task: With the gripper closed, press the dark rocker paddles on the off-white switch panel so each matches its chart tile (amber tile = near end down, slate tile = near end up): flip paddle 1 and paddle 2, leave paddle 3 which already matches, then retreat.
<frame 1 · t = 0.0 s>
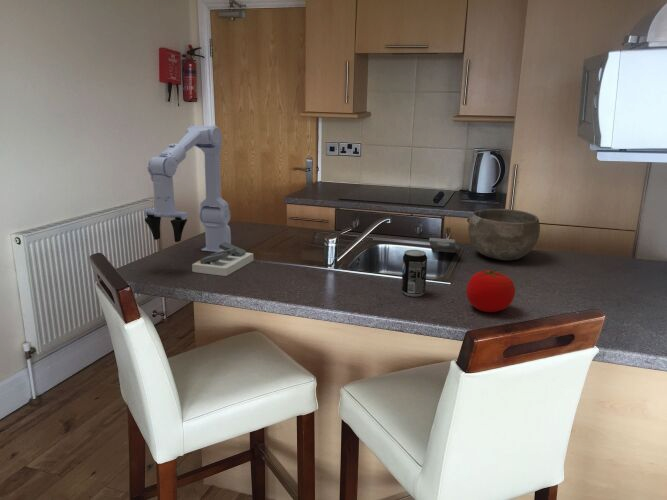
hand: (167, 240, 170), 10 cm above the worktop, fingers open, 7 cm apart
switch panel: (224, 266, 179), on the worktop
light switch: (442, 256, 192), on the worktop
rocker 1: (232, 249, 182), point 4 cm above the worktop, hinge at -17.0°
beverage can: (413, 294, 155), on the worktop
bowl: (499, 257, 192), on the worktop
rocker 3: (213, 257, 172), point 4 cm above the worktop, hinge at 17.0°
tomato: (488, 310, 144), on the worktop
rocker 2: (222, 253, 177), point 4 cm above the worktop, hinge at 17.0°
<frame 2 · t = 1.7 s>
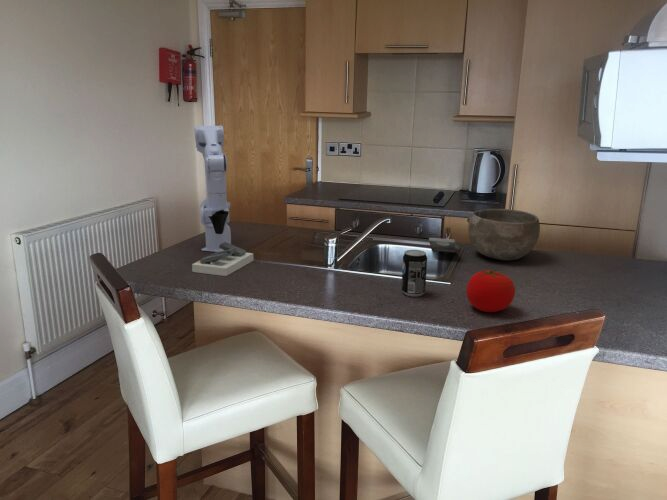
hand: (219, 233, 180), 10 cm above the worktop, fingers closed
nothing on the worktop moved.
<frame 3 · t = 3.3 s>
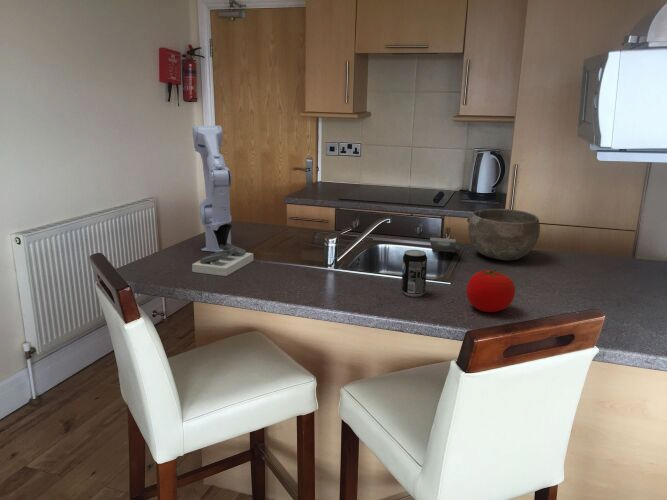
hand: (222, 246, 183), 5 cm above the worktop, fingers closed, pressing on rocker 1
rocker 1: (232, 249, 182), point 4 cm above the worktop, hinge at -15.2°, touching gripper
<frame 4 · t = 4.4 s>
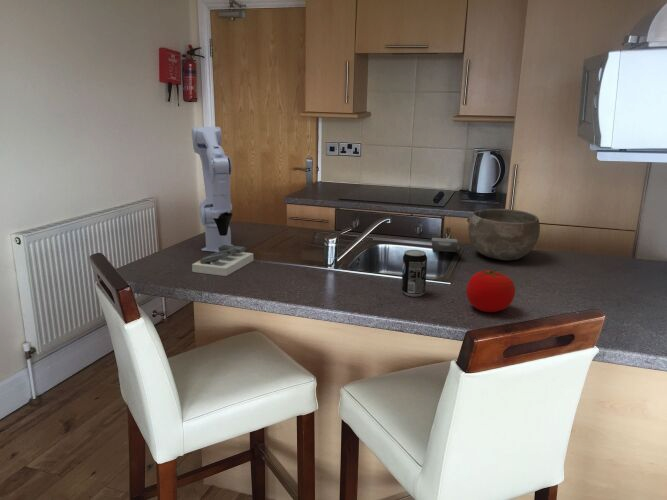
hand: (223, 235, 182), 9 cm above the worktop, fingers closed
rocker 1: (231, 249, 182), point 4 cm above the worktop, hinge at 0.4°
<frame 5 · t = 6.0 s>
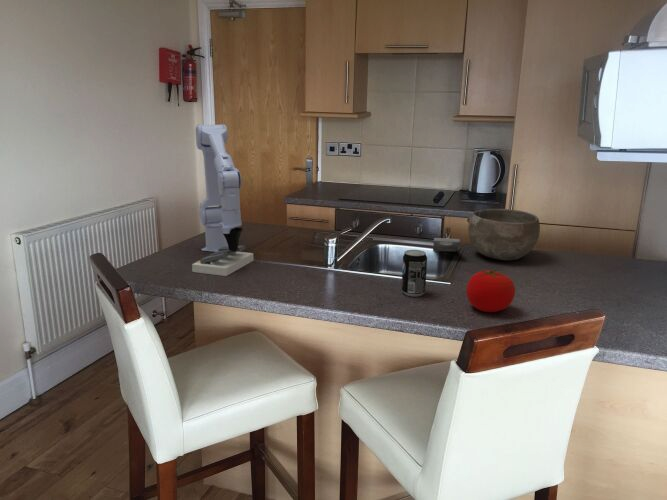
hand: (233, 251, 176), 5 cm above the worktop, fingers closed, pressing on rocker 2
rocker 1: (231, 249, 182), point 4 cm above the worktop, hinge at 9.1°
rocker 2: (222, 253, 177), point 4 cm above the worktop, hinge at 15.3°, touching gripper
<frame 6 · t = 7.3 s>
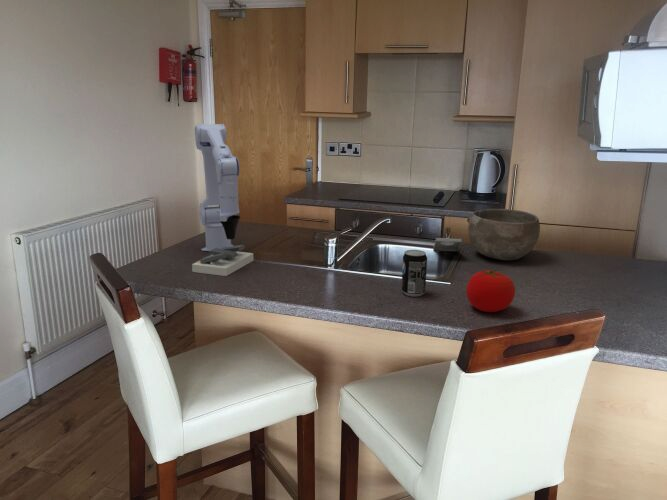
hand: (230, 238, 175), 9 cm above the worktop, fingers closed
rocker 1: (231, 249, 182), point 4 cm above the worktop, hinge at 12.4°
rocker 2: (223, 253, 177), point 4 cm above the worktop, hinge at -5.1°
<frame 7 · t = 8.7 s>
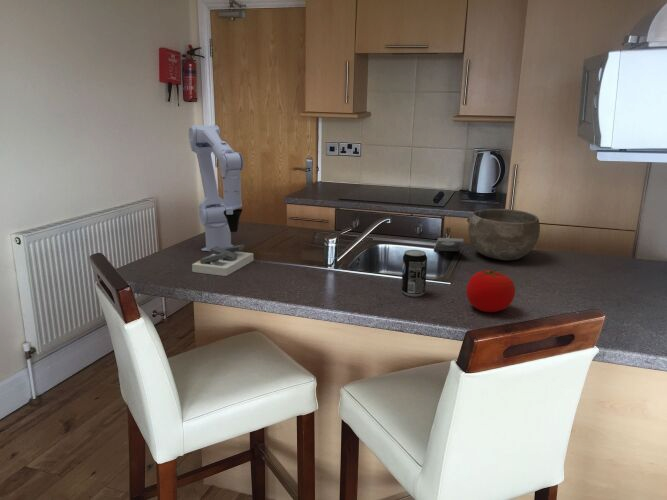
hand: (233, 231, 181), 10 cm above the worktop, fingers closed
rocker 1: (231, 249, 182), point 4 cm above the worktop, hinge at 14.2°
rocker 2: (224, 253, 177), point 4 cm above the worktop, hinge at -14.8°
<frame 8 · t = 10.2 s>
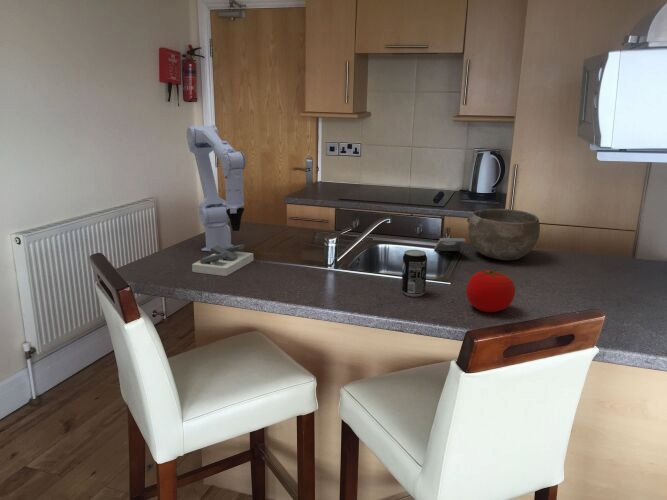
hand: (236, 230, 182), 10 cm above the worktop, fingers closed
rocker 1: (231, 249, 182), point 4 cm above the worktop, hinge at 15.1°
rocker 2: (224, 253, 177), point 4 cm above the worktop, hinge at -19.8°, touching switch panel
at the end: rocker 1 at +15° (first picture: -17°); rocker 2 at -20° (first picture: +17°); rocker 3 at +17° (first picture: +17°) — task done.
